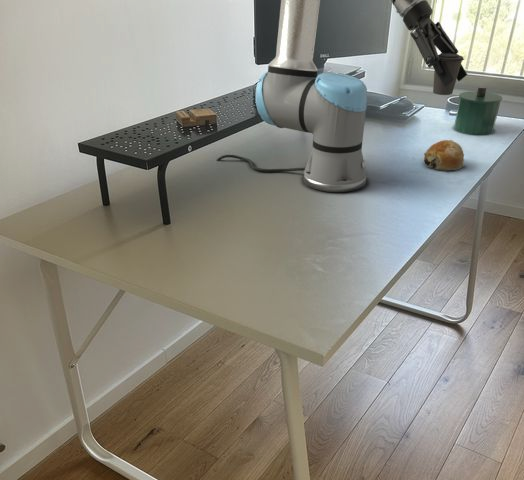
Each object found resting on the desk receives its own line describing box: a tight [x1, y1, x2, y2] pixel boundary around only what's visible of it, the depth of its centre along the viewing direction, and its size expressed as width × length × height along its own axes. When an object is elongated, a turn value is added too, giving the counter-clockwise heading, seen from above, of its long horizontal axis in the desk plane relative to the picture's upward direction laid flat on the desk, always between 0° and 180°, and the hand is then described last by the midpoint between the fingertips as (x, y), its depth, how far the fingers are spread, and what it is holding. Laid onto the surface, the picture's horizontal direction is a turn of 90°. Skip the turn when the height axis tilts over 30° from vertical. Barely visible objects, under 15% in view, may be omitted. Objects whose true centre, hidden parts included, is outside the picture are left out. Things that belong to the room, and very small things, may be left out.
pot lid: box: [458, 85, 503, 103], centre depth 164 cm, size 12×12×4 cm
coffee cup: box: [432, 52, 465, 96], centre depth 156 cm, size 8×8×10 cm
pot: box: [453, 98, 501, 136], centre depth 167 cm, size 11×11×9 cm
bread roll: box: [423, 139, 465, 172], centre depth 144 cm, size 10×10×8 cm
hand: (456, 80), depth 155 cm, fingers closed on coffee cup, 8 cm apart
